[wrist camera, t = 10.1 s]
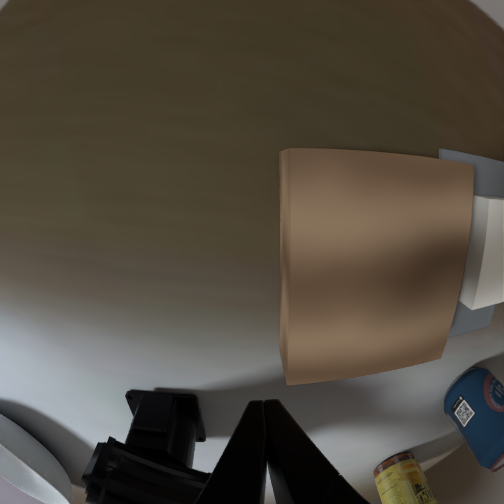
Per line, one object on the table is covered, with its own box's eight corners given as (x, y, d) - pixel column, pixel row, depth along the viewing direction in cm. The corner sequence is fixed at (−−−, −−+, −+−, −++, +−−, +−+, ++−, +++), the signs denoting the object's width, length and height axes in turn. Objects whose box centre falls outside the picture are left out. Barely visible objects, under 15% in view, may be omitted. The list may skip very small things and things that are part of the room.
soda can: (492, 361, 24) (547, 419, 12) (464, 405, 26) (507, 466, 14) (460, 362, 23) (521, 434, 12) (429, 410, 25) (474, 484, 14)
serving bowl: (-7, 440, 28) (-21, 462, 21) (-38, 364, 22) (-63, 390, 16) (87, 493, 30) (78, 522, 24) (76, 438, 25) (58, 478, 18)
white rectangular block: (471, 310, 18) (458, 300, 20) (510, 299, 19) (498, 291, 21) (489, 199, 16) (472, 195, 18) (526, 202, 16) (511, 198, 18)
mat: (487, 324, 22) (489, 326, 22) (414, 342, 22) (417, 344, 21) (512, 164, 17) (514, 165, 17) (438, 148, 17) (441, 148, 17)
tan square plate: (417, 332, 21) (440, 358, 18) (279, 350, 21) (286, 385, 17) (439, 162, 18) (473, 164, 14) (278, 151, 17) (289, 147, 13)
